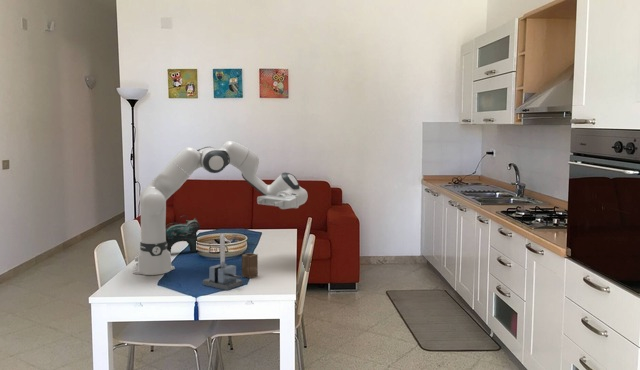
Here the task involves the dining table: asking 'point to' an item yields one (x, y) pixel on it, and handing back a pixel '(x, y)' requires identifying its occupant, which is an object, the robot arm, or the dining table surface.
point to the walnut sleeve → (250, 265)
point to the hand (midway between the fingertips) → (266, 203)
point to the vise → (223, 272)
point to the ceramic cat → (183, 234)
